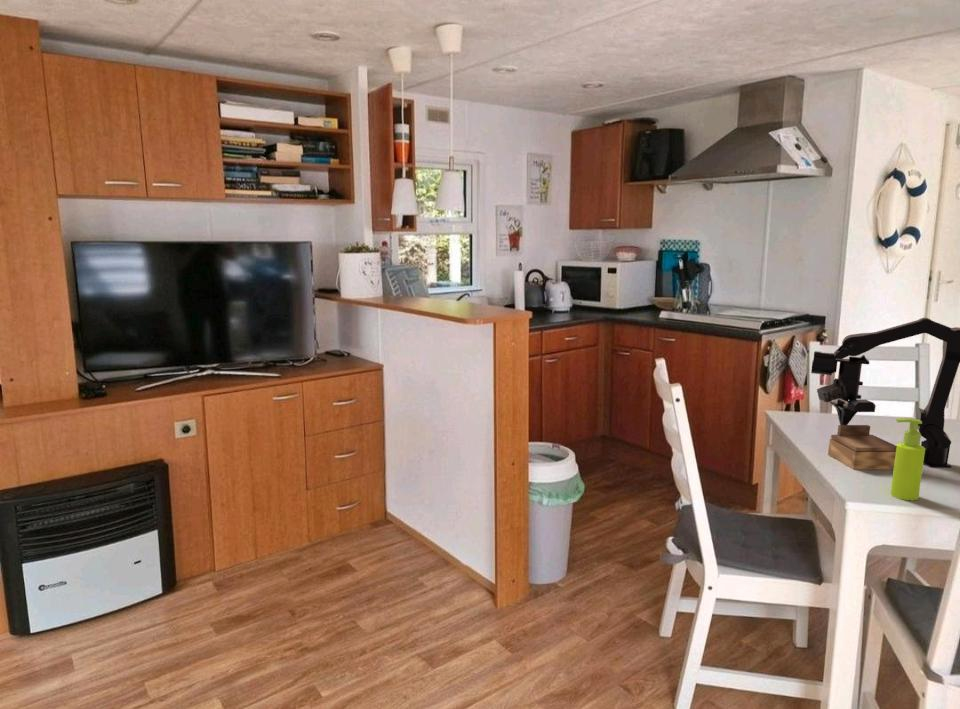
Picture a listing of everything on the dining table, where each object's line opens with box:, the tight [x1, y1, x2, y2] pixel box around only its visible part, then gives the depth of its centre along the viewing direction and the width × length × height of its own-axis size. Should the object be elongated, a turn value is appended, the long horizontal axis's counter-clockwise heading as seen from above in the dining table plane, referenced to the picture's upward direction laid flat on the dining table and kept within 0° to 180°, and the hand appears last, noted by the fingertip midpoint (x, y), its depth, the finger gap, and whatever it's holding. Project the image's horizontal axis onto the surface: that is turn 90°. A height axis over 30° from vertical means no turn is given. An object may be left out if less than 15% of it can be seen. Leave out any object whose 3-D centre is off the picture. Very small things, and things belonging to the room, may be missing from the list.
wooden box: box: [827, 438, 896, 470], centre depth 186 cm, size 13×12×5 cm
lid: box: [830, 424, 897, 451], centre depth 185 cm, size 13×12×4 cm
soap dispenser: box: [890, 417, 925, 502], centre depth 160 cm, size 6×7×20 cm
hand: (843, 427), depth 195 cm, fingers closed
